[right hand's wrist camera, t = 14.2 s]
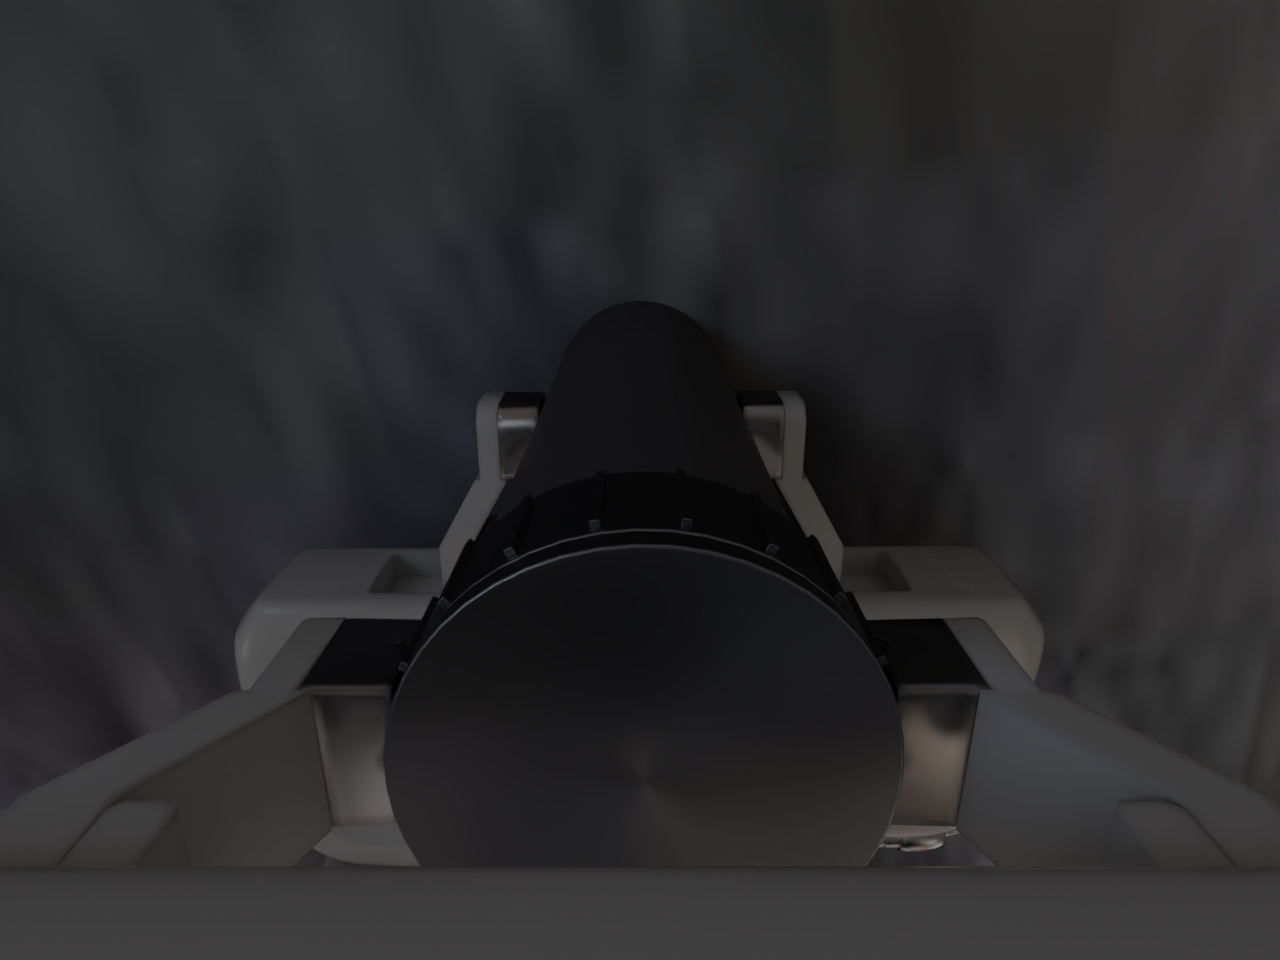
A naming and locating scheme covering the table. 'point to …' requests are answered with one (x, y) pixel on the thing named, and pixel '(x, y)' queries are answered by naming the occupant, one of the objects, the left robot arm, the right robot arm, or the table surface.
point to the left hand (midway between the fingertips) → (639, 395)
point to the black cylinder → (641, 409)
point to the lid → (643, 691)
